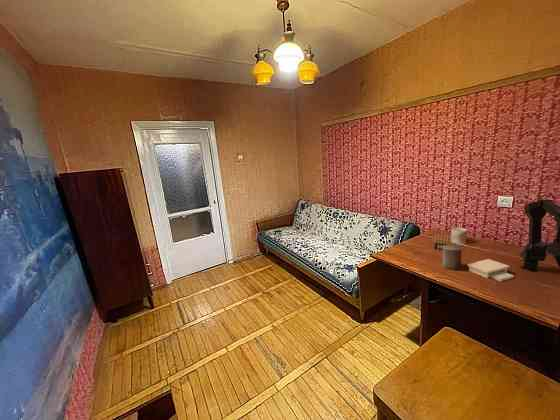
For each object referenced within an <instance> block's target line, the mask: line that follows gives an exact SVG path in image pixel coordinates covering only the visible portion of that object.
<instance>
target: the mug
mask: <svg viewBox="0 0 560 420" xmlns="http://www.w3.org/2000/svg"><path fill="white" fill-rule="evenodd" d="M450 231H451V232H450V235H451V240H452V244H455V243H456V244H455V245H466V244H467V232H468V229H467V228H464V227H463V228H462V227H452V228H451V230H450Z"/></svg>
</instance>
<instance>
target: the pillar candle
mask: <svg viewBox="0 0 560 420" xmlns="http://www.w3.org/2000/svg"><path fill="white" fill-rule="evenodd" d="M462 250H463V248H462V247H461V246H460V245H457V244H451V245H444V246H443V250H442V267H443V268H444V269H446V270H450V271H460V270H461V269H462V267H461V265H462V252H463V251H462Z"/></svg>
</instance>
